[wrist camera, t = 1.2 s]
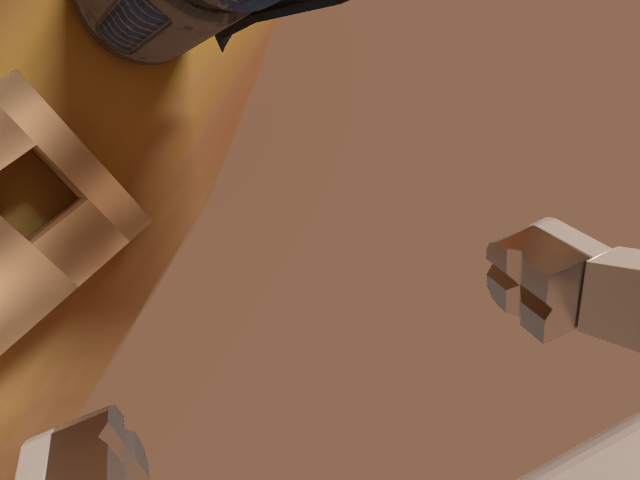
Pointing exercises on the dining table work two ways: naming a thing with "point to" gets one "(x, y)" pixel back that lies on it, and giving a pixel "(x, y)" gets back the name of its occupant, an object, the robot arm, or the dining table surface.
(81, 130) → the dining table surface
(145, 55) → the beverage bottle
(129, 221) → the board
